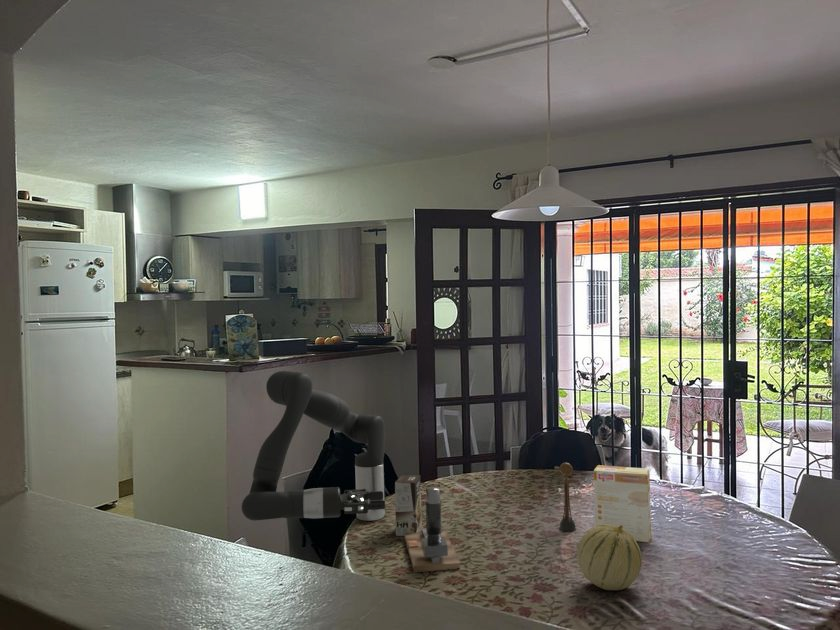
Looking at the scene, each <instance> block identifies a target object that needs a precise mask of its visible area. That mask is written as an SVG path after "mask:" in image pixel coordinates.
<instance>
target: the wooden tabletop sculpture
mask: <svg viewBox="0 0 840 630" xmlns="http://www.w3.org/2000/svg"><path fill="white" fill-rule="evenodd" d="M554 471H558V472H560V473H561V475H563V476H564V478H563V488H564V489H563V491H564V494H563V496H564V497H563V499H564V502H563V503H564V504H563V514H562V518H561V520H560V522H559V530H560V531H563V532H575V531H576V529H577V527H576V523H575V520H574V519H573V517H572V511H571V503H570V501H571V500H570V481H569V480H570V478H568V477H569V476H571V475H572V473H573V471H574V470H573V466H572V465H571V464H570V463H569V462H563V463H561V464H560V466H554Z"/></svg>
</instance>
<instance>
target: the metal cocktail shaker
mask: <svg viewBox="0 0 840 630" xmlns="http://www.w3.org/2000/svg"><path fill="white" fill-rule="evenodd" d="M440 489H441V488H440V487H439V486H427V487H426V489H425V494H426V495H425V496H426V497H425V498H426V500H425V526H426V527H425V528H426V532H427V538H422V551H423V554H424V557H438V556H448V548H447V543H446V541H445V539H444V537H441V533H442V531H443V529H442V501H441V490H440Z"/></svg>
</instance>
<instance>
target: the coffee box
mask: <svg viewBox="0 0 840 630" xmlns="http://www.w3.org/2000/svg"><path fill="white" fill-rule="evenodd" d="M421 487H422V486H421V475H420V474H419V475H417V474H407V475H404V474H403V475H400V476H399V477H398V478H397V480H395V482H394V497H395V498H394V500H395V501H394V505H395V506H394V507H395V510H394V511H395V512H394V513H395V536H398V537H399V536H400V537H405V534H406V533H420V530H421V529H422V527H423V526H422V525H423V524H422V520H423V519H422V495H421V494H422V491H421V490H422V489H421Z"/></svg>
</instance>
